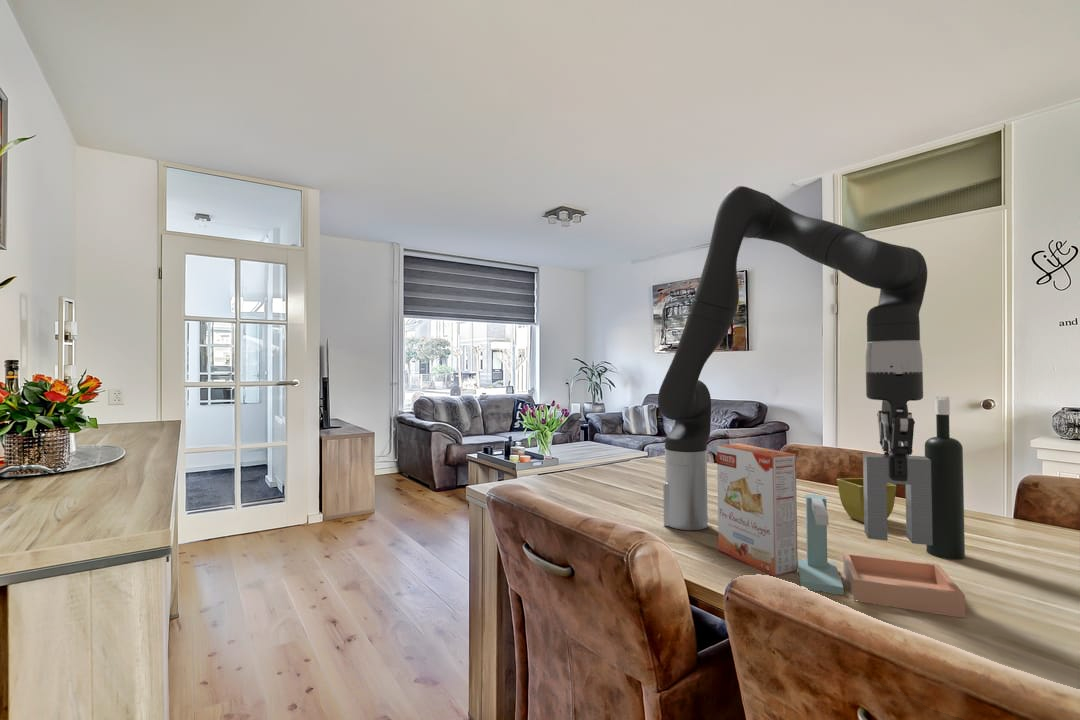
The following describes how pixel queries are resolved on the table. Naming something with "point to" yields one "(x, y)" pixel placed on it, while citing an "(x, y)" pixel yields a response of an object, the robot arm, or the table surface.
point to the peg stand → (818, 550)
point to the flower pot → (860, 497)
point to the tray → (903, 584)
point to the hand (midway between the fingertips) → (895, 477)
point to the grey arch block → (916, 497)
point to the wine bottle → (946, 488)
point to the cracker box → (758, 507)
